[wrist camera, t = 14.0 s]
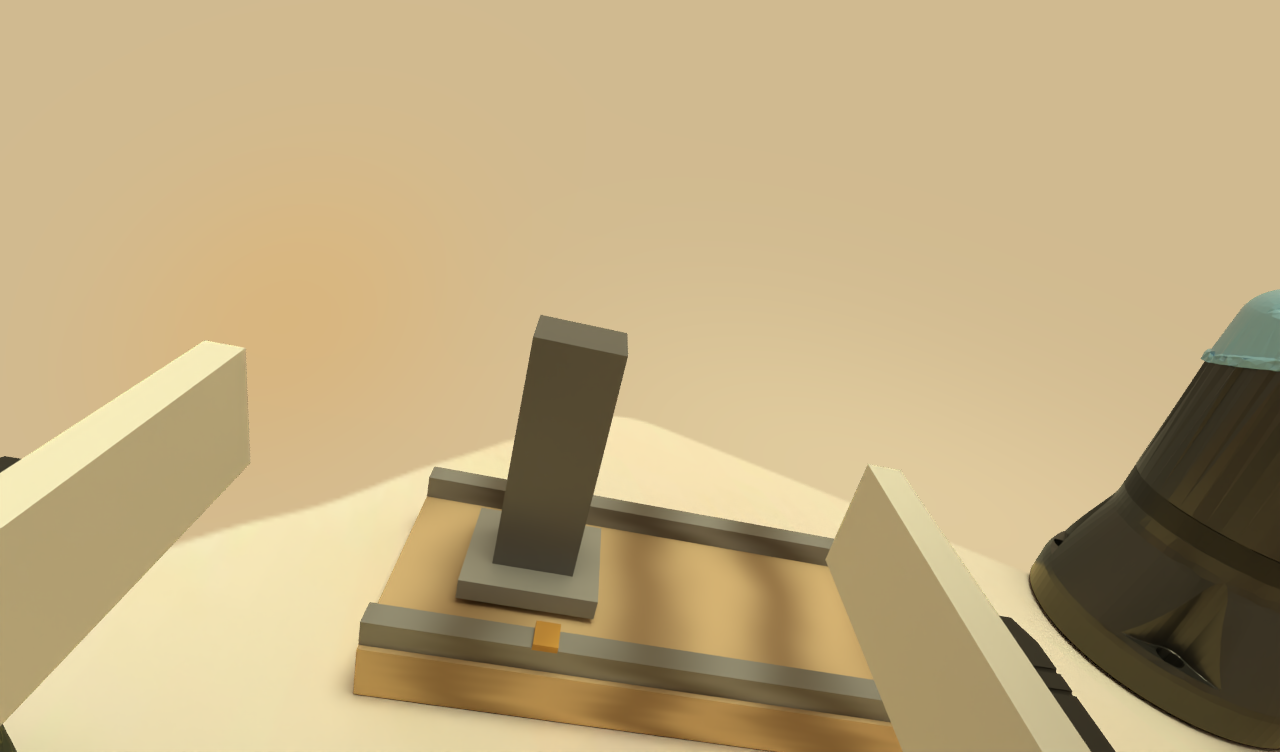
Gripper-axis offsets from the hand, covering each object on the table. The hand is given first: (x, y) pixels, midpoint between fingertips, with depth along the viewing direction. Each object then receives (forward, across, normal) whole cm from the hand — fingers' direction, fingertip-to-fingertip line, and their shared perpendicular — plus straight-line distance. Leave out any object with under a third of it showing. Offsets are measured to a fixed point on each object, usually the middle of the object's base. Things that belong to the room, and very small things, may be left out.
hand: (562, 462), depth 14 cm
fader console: (+12, +6, -17) cm, 21 cm away
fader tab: (+12, 0, -14) cm, 18 cm away
